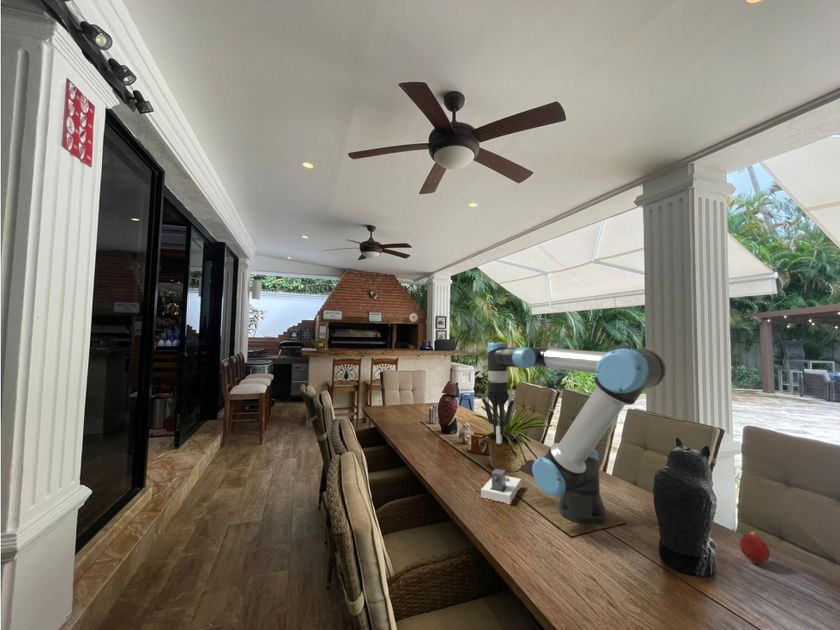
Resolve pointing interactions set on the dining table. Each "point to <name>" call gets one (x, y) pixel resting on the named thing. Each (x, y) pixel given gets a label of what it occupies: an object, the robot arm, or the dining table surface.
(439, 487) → the dining table surface
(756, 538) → the red oval piece
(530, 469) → the hardcover book
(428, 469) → the dining table surface
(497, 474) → the plug
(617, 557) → the dining table surface
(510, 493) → the socket
